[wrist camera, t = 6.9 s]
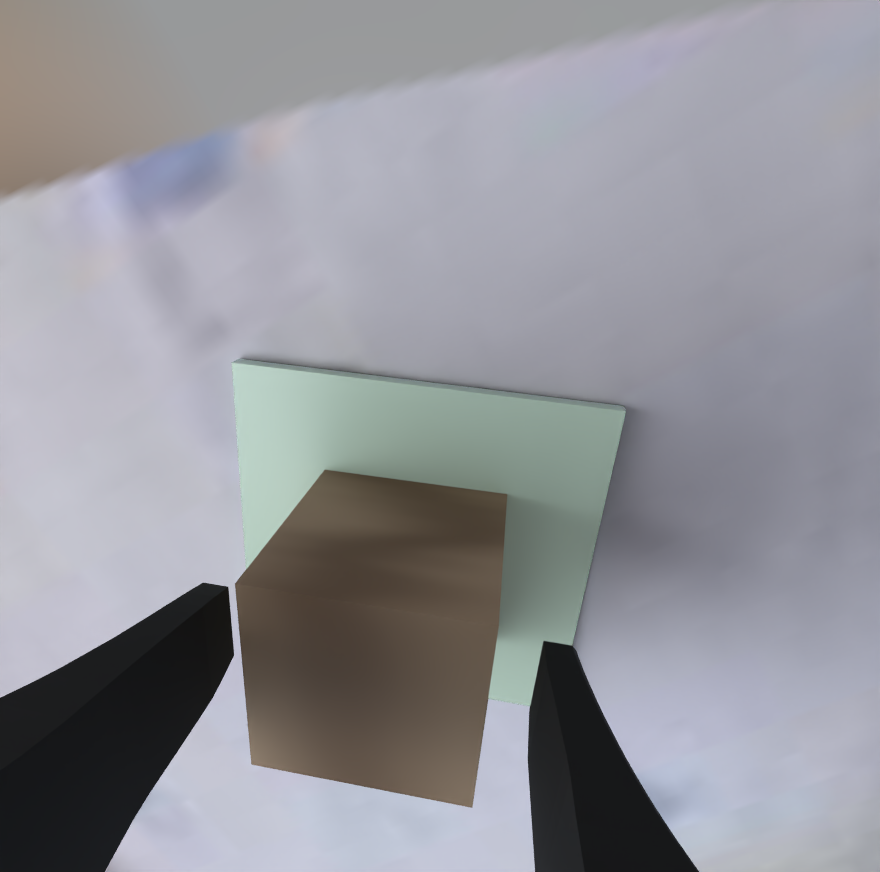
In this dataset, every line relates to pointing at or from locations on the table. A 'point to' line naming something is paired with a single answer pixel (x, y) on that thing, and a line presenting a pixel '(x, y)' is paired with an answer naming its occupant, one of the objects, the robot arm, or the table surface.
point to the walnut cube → (375, 635)
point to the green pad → (443, 477)
